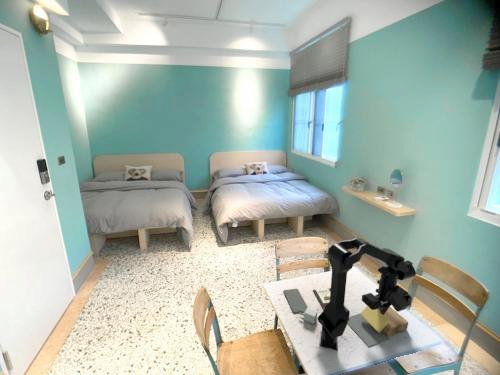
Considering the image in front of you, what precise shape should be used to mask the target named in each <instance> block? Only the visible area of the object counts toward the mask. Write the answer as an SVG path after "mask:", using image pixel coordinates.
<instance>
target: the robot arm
mask: <svg viewBox="0 0 500 375" xmlns="http://www.w3.org/2000/svg"><path fill="white" fill-rule="evenodd" d="M354 249H355V250H357V251H355V252H354V253H353V252H352V251H350V250H354ZM365 254H366V255H368V256H370V257H372V258H375V259H377V260H379V261H381V262H382V263H383V264H385V266H384V265H383V266H381V267H379V268H378V269H377V272H378V273H380V279H378V280H377V281H376V284H378V288H375V292H376V293H377V294H375V295H374V294H373V293H372V292H369V293H365V294H362V295H361V301H362V302H363V303H364V305H366V307H367V306H368V307H369V308H370V309H372V310H375V309H379V311H380V313H381V314H382V315H384V314H385V313H386V311H387V310H388V308H389V307H391V306H392V307H393V310H394V311H396V312H397V313H398V312H401V311H405V310H406V309H407V308H408V307H410V306H412V304H411V303H412V300H413V297H412V296H411V295H410V294H409V292H408V290H405V289H404V288H402V286H400V285H397V284H398V281H404V280H408V279H411V278H414V277H416V275H417V272H416V269H415V266H413V262H412V261H410V260H406V259H405V257H403V256H401V254H399V253H397V252H395V251H393V250H391V249H389V248H381V247H378V246H376V245H374V244H373V243H370V242H368V241H366V240H364V239H363V238H361V237H355V238H353V239H345V240H340V241H339V242H336V243H334V244H332V245H331V246H330V247H329V248H328V250H327V255H328V256H327V257H328V262H329V264H330V267H331V270H332V271H331V279H330V280H331V281H330V288H331V291H330V302H329V303H328V304H327V305H326V306H325V310H323V311H322V312H321V313H320V314H319V316H318V315H317V319H316V320H317V321H318V323H319V324H320V325H321V331H320V332H319V346H320V347H323V348H327V349H330V350H335V351H338V349H339V347H338V346H339V342H338V341H339V340H338V337H341V336H343V334H344V333H345V330H346V329H347V326H348V324H347V323H348V321H349V317H350V313H351V312H350V309H348V308H347V306H345V298H346V289H347V288H346V286H347V278H348V272H349V271H351V269H353V265H354V264H356V263H358V262H360V260H361V259H362V257H363V255H365Z"/></svg>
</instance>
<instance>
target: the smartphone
mask: <svg viewBox="0 0 500 375" xmlns="http://www.w3.org/2000/svg"><path fill="white" fill-rule="evenodd" d="M283 294H284V296H285V299H286V301H287V303H288V304H289V305H288V306H289V308H290V310H291V311H292V313H293V314H299V312H300V313H302V314H303V312H302V310H304V311H306V309H307V308H309V307H308V305H307V303H306V301H305V300H304V297H303V296H302V295H301V294H302V293H300V290H299V289H298V288H290V289H284V290H283Z"/></svg>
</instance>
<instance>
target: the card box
mask: <svg viewBox="0 0 500 375" xmlns="http://www.w3.org/2000/svg"><path fill="white" fill-rule="evenodd" d="M359 314H361V316H362V317H363V318H364V319H365V320H366V321H367V322H368V323H369V324H370V325H371V326H372V327H373V328H374V329H375V330H376V331H378V332H380V331H381V330H382V329H383V328H384V327H385V326H386V325H387V324H388V323H389V322H390V321H389V320H388V319H387V318H386V317H385V316H384V315H382V314H381V313H380V312H379V311H378V310H377V309H375V310H372V309H370V308H369V307H368V306H367V305H366V306H365V308H364V309H363V310H362V311H361V312H359Z"/></svg>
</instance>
